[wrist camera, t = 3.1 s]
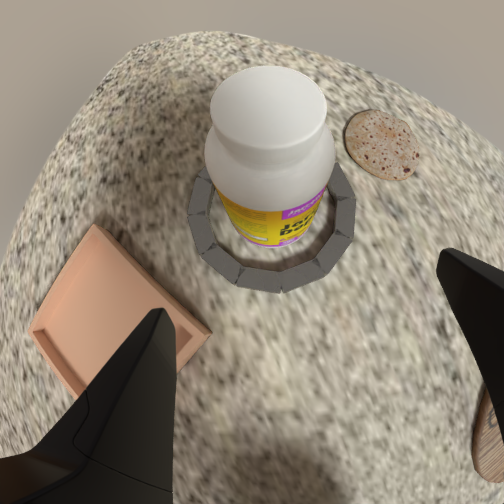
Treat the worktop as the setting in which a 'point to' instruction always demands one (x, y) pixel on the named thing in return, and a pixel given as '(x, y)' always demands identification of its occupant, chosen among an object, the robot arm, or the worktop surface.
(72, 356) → the tray
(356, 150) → the flatbread
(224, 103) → the supplement bottle
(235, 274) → the seat ring
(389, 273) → the worktop surface
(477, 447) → the trivet
